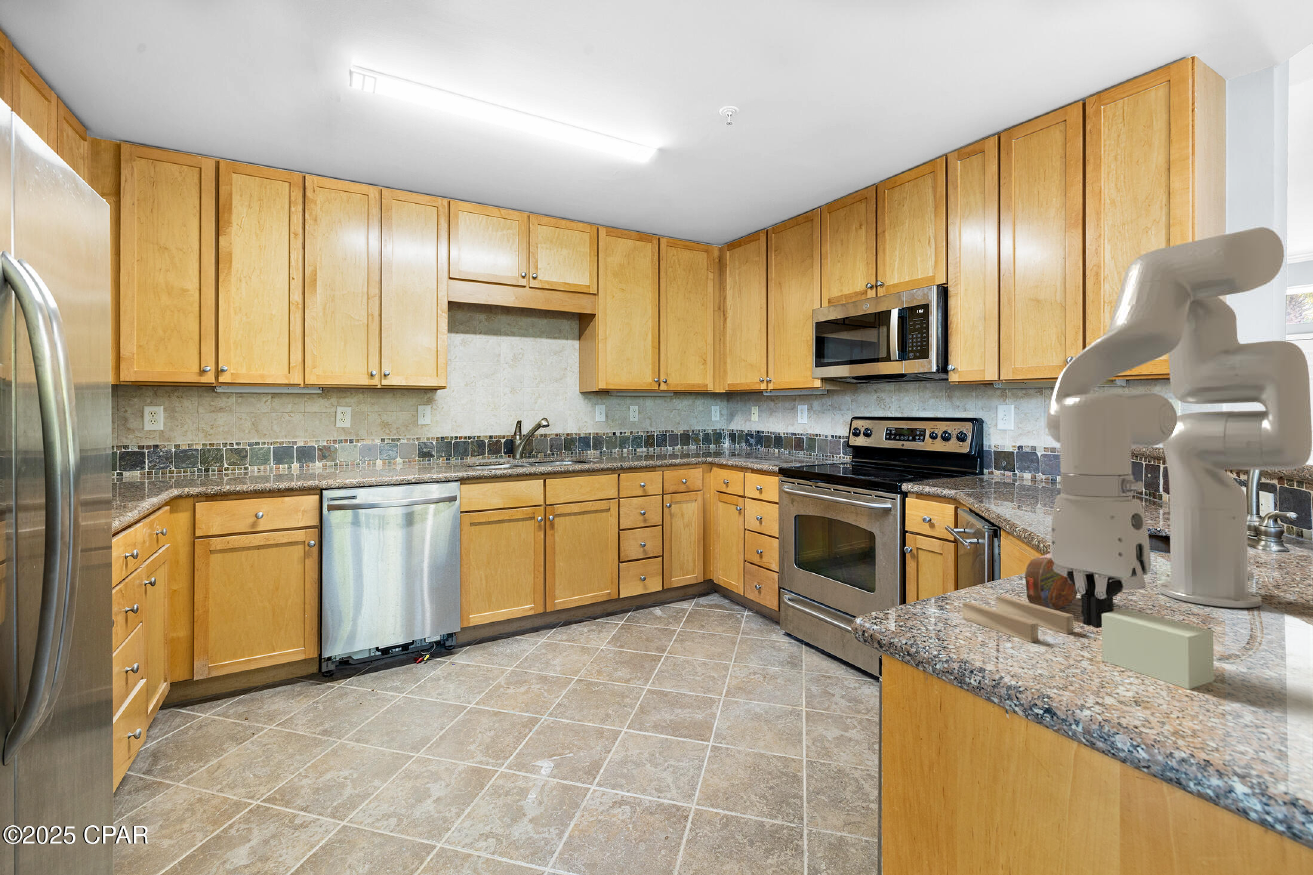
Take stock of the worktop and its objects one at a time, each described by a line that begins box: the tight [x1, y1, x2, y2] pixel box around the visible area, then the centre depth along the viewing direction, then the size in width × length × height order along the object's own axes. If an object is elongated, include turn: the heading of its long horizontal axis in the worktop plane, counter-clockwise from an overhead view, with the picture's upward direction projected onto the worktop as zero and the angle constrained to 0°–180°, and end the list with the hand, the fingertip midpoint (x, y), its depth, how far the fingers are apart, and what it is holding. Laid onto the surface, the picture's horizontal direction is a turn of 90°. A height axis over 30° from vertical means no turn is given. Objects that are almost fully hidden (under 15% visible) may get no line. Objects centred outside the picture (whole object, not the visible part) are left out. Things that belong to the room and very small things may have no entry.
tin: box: [1024, 552, 1079, 611], centre depth 97 cm, size 15×3×8 cm, turn 125°
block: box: [1101, 608, 1215, 690], centre depth 70 cm, size 5×9×6 cm, turn 22°
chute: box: [962, 595, 1075, 643], centre depth 87 cm, size 9×11×2 cm
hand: (1097, 624), depth 77 cm, fingers closed
